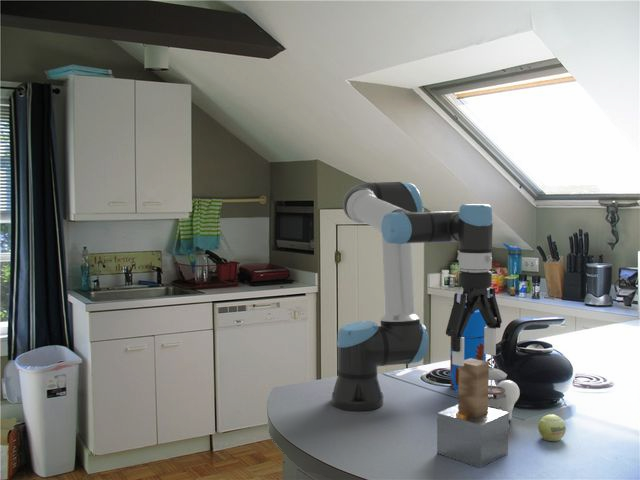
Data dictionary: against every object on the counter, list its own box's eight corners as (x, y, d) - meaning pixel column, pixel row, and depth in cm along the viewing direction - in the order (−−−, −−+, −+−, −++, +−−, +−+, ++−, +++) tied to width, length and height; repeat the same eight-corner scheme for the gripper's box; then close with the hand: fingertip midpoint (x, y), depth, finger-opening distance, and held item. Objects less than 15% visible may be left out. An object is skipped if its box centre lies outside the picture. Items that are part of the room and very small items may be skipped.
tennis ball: (547, 418, 172) (570, 415, 174) (531, 413, 179) (554, 410, 181) (548, 444, 172) (572, 441, 174) (533, 438, 178) (556, 435, 180)
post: (457, 452, 167) (458, 362, 165) (469, 446, 171) (470, 358, 169) (475, 458, 164) (477, 366, 162) (487, 452, 167) (488, 361, 165)
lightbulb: (518, 417, 192) (520, 378, 191) (518, 425, 186) (519, 384, 185) (495, 415, 194) (496, 376, 193) (494, 422, 188) (495, 382, 187)
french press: (503, 434, 180) (504, 338, 178) (460, 425, 186) (460, 333, 184) (514, 422, 188) (515, 330, 186) (472, 415, 194) (473, 326, 192)
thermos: (483, 383, 224) (484, 306, 222) (487, 393, 214) (489, 312, 211) (448, 382, 225) (449, 305, 223) (451, 392, 215) (452, 312, 213)
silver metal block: (437, 453, 167) (437, 408, 166) (465, 440, 176) (465, 397, 175) (480, 468, 159) (481, 420, 158) (507, 453, 167) (508, 408, 166)
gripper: (458, 276, 152) (457, 372, 154) (517, 266, 170) (515, 352, 171) (430, 273, 157) (429, 366, 159) (489, 264, 175) (488, 347, 177)
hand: (474, 359), depth 165 cm, fingers open, 13 cm apart
